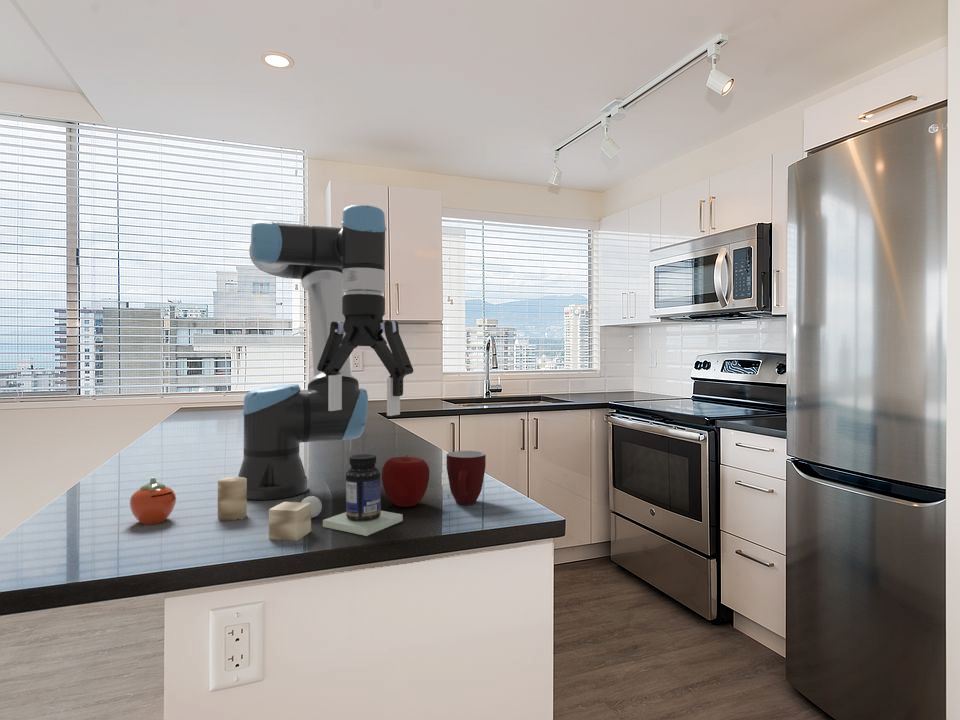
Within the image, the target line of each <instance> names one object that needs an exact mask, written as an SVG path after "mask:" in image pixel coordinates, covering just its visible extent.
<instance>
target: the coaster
mask: <svg viewBox="0 0 960 720" xmlns="http://www.w3.org/2000/svg"><path fill="white" fill-rule="evenodd" d="M403 517H404V516H403V513H396V512H392V511H385V510H381V514H380V516H379V517H378V518H376V519H373V520H368V521H353V520H350V519H348V518H347V516H346V511H345V512H342V513H340V514H337V515H334V516H331V517H327V518H325V519H323V520H322V527H323V528H326V529H331V530H336V531H341V532H347V533H350V534H356V535H359V536H365V537H368V536H370V535H373V534H375V533H377V532H380V531H382V530H384V529H386V528H389V527H392V526H393V525H396V524H399V523H401V522H403Z"/></svg>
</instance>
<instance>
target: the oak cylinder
mask: <svg viewBox="0 0 960 720" xmlns="http://www.w3.org/2000/svg"><path fill="white" fill-rule="evenodd" d="M247 502H248V499H247V478H244V477H238V476H229V477H223V478H220V479H218V480H217V520H218V519H219V520H218V521H221V520H223V521H222V522H232V521H231V520H234V521H238V520H237V519H240V520H242V519H241V518H243V519H245V518H247V515H248V514H247V513H248V512H247V511H248V509H247V506H248V505H247V504H248V503H247ZM244 517H245V518H244ZM225 520H226V521H225ZM229 520H230V521H229Z"/></svg>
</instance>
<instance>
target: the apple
mask: <svg viewBox="0 0 960 720" xmlns="http://www.w3.org/2000/svg"><path fill="white" fill-rule="evenodd" d="M429 481H430V466H428V463H427V462H426V461H425V460H424V459H423V458H421V457H415V456H408V455H407V454H406V456H396V457H391V458H388V460H386V461H385V463H384V465H383V466H382V470H381V483H382V486H383V490H384V492H385V495H386V497H387V498H388V500H389V501H390V502H391V503H392V504H393V505H395V506H396V507H400V508H401V507H402V508H408V507H414V506H416V505H418V504H419V503H420V501H421V500H422V499H423V497H424V496H425V494H426V491H427V489H428V485H429Z"/></svg>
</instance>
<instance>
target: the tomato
mask: <svg viewBox="0 0 960 720" xmlns="http://www.w3.org/2000/svg"><path fill="white" fill-rule="evenodd" d="M176 502H177V495H176V492H175V491H174V489H172V488H171V487H168V486H167V485H165V484H164V483H162V482H158V481H157V479H156V477H151V478H150V480H149V483H146V484H143V485H142V486H140V488H139V489H138V490H136V491H134V492H133V493H132V495H130V499H129V508H130V511H131V513H132V515H133V517H134V518H135V519H136V521H137V522H139V523H141V524H142V525H147V526H148V525H157V524H162V523H163V522H165V521H166V520H167V519H168V518H169V516H171V514H172V512H173V510H174V509H175V506H176Z"/></svg>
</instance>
